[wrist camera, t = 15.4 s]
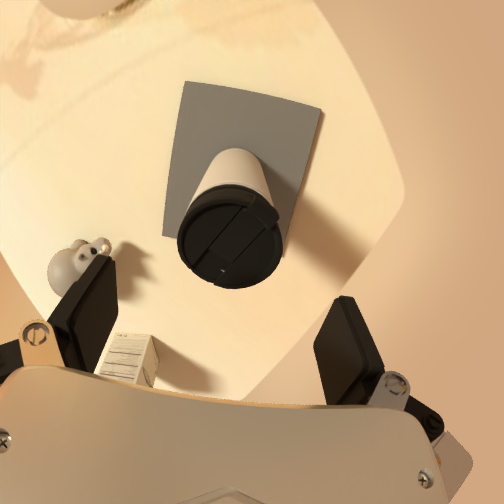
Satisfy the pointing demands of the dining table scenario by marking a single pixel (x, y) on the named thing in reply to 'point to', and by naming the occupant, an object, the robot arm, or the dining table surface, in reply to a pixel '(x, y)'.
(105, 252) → the chubby cartoon animal
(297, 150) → the mat
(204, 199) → the travel mug
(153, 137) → the dining table surface
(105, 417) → the robot arm
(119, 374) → the supplement box
